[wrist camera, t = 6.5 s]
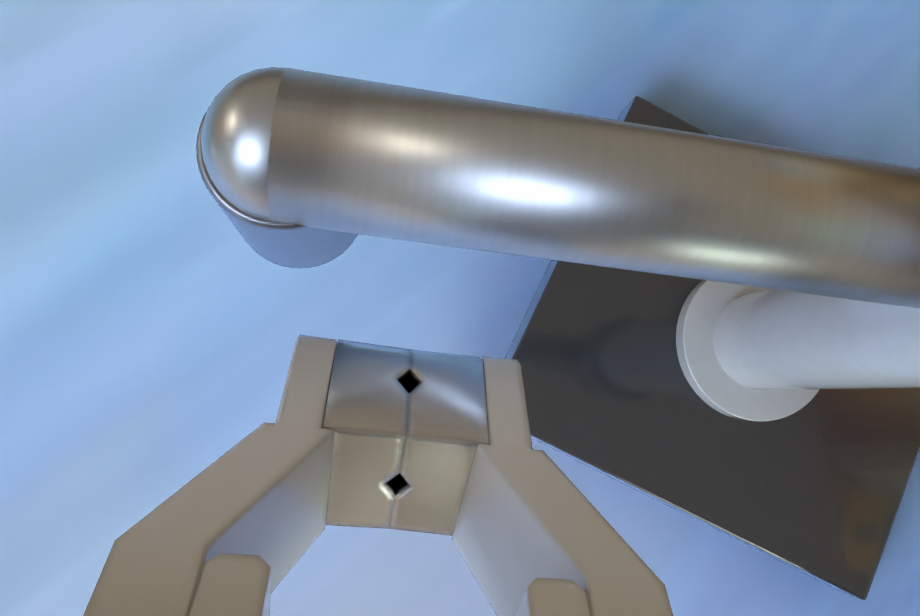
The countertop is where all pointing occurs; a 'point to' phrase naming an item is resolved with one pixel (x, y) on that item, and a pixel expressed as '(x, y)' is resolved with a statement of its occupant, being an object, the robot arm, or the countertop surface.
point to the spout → (549, 188)
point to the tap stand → (732, 402)
